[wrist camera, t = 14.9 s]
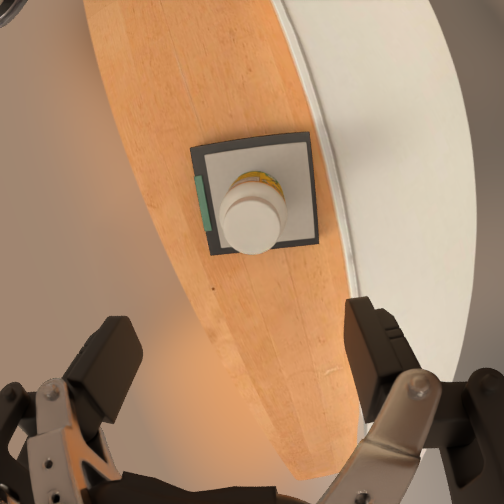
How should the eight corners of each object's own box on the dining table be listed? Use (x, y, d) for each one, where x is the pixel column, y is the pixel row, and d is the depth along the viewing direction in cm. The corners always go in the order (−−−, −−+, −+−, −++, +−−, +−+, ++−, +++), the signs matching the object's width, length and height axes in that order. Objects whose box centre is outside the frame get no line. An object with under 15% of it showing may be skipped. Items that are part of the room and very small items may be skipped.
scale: (213, 248, 34) (209, 258, 32) (194, 146, 29) (188, 148, 27) (316, 237, 33) (320, 246, 30) (306, 131, 28) (310, 131, 26)
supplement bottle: (222, 178, 28) (201, 201, 19) (275, 163, 27) (279, 179, 18) (238, 227, 30) (226, 271, 21) (289, 214, 29) (298, 253, 20)
